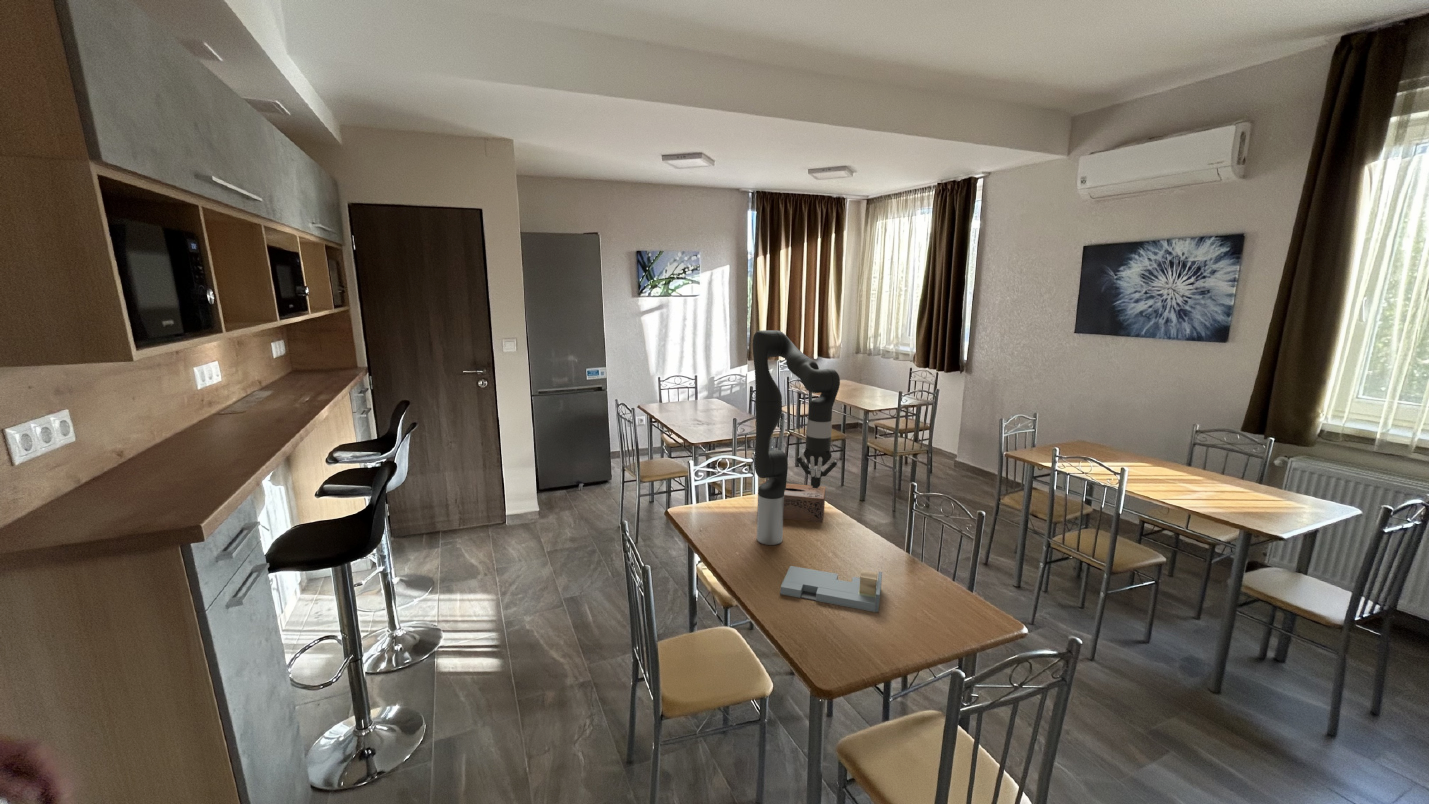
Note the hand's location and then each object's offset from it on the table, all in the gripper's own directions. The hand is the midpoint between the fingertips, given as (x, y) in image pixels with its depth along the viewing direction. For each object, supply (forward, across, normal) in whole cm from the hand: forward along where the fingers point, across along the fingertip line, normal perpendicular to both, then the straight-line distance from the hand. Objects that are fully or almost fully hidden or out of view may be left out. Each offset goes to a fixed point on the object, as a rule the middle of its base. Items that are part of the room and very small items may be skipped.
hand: (815, 487), depth 176 cm
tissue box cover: (+30, +16, -47) cm, 58 cm away
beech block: (+26, -19, +11) cm, 33 cm away
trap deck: (+28, -8, +11) cm, 31 cm away
